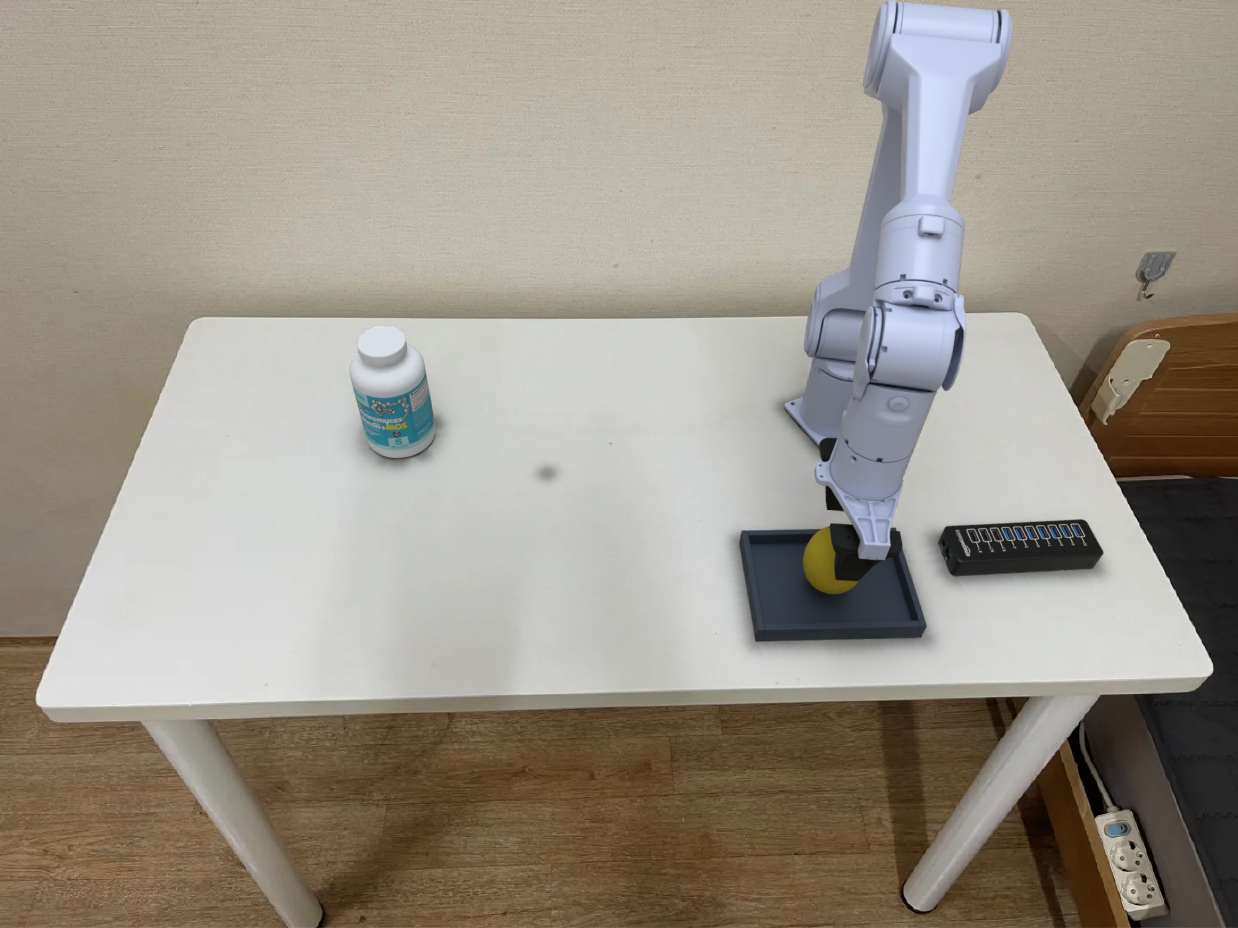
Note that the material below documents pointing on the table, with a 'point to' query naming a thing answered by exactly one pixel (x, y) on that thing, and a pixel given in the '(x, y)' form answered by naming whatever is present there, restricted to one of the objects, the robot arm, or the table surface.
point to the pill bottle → (392, 393)
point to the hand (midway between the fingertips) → (842, 541)
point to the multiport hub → (1019, 547)
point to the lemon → (823, 565)
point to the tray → (823, 594)
